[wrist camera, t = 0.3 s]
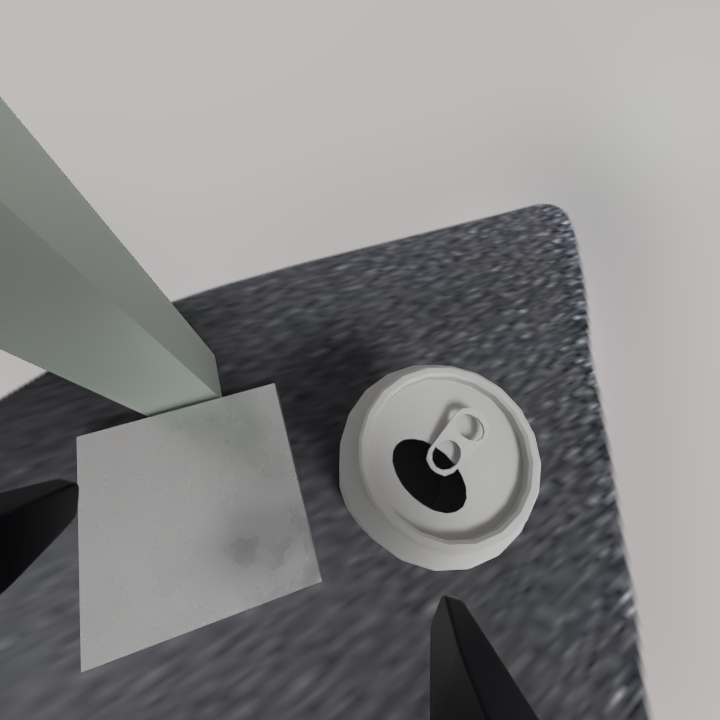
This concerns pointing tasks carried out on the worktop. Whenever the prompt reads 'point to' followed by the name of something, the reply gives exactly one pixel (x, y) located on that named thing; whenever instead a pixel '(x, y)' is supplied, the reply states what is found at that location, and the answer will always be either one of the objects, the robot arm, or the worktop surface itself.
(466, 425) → the can
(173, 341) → the press frame
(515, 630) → the worktop surface
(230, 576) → the plate
